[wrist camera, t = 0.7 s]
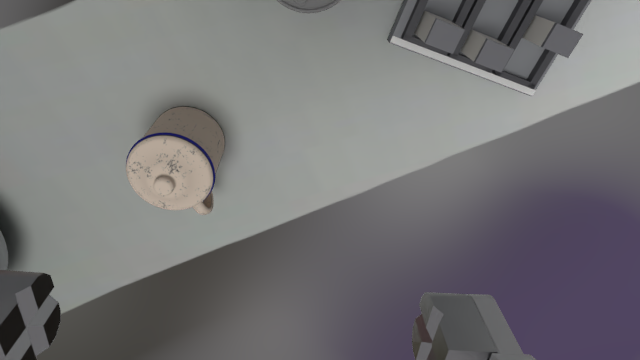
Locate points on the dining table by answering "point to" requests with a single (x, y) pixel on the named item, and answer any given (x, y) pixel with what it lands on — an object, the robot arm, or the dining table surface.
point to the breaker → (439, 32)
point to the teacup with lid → (177, 160)
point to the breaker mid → (486, 51)
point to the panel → (490, 34)
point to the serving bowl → (3, 253)
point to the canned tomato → (308, 5)
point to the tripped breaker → (552, 36)
